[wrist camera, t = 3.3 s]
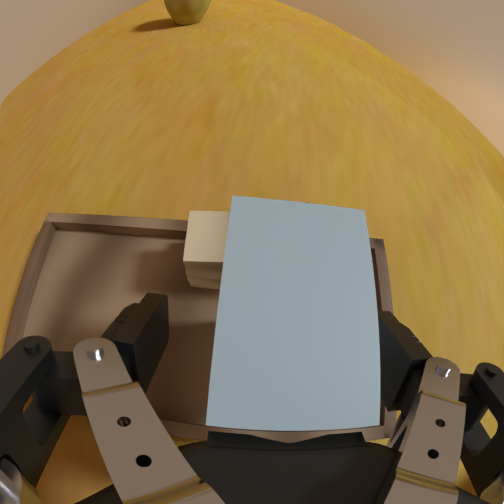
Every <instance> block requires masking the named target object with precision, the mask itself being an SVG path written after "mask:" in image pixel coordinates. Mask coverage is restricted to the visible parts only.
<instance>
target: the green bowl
mask: <svg viewBox="0 0 504 504" xmlns="http://www.w3.org/2000/svg"><path fill="white" fill-rule="evenodd" d="M210 1H211V0H164V3H165V6H166V8H167V10H168V12H169V14H170V16H171V17H172V19H173V20H174V21H175V22H176V23H177V24H178V25H191V24H196V23H198V22H200V21H201V19H202V18H203V16H204V15H205V13H206V11H207V9H208V7H209V4H210Z"/></svg>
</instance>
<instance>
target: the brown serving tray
mask: <svg viewBox="0 0 504 504" xmlns="http://www.w3.org/2000/svg"><path fill="white" fill-rule="evenodd" d="M187 226H188V221H186V220H172V219H158V218H142V217H126V216H109V215H90V214H68V213H48V214H47V216H46V219H45V221H44V223H43V225H42V228H41V230H40V232H39V235H38V237H37V240H36V242H35V245H34V247H33V250H32V252H31V255H30V258H29V261H28V263H27V266H26V269H25V272H24V275H23V278H22V281H21V284H20V287H19V291H18V294H17V297H16V301H15V304H14V308H13V312H12V316H11V320H10V324H9V328H8V332H7V337H6V342H5V347H4V352H3V356H4V355H5V354H6V353H7V352H8V351H9V350H10V349H11V348H12V347H13V346H14V345H15V344H16V343H17V342H18V341H19V340H21V339H23V338H25V337H28V336H35V335H37V336H43V337H46V338H47V339H48V340H49V341H50V343H51V346H52V349H53V351H69V352H73V350H74V348H75V346H76V345H77V344H78V343H79V342H81V341H83V340H86V339H89V338H100V337H101V335H102V334H103V333H104V332H105V330H106V329H107V328H108V327H109V326H110V324H111V323H112V322H114V319H115V318H116V317H117V316H119V314H120V312H121V311H122V310H123V309H124V308H125V307H127V306H129V305H131V304H132V303H140V301H141V300H142V299H143V298H144V296H145V295H146V294H147V293H148V292H150V293H158V294H166V295H167V297H168V311H169V339H168V344H167V346H166V348H165V351H164V353H163V355H162V357H161V360H160V362H159V364H158V366H157V369H156V371H155V373H154V375H153V378H152V380H151V382H150V385H149V387H148V389H147V391H146V394H145V395H146V397H147V399H148V401H149V402H150V404H151V406H152V408H153V409H154V411H155V413H156V414H157V416H158V418H159V419H160V421H161V423H162V424H163V426H164V428H165V429H166V431H167V432H168V434H169V435H171V436H177V437H183V438H189V439H196V440H204V441H207V438H208V431H215V432H225V433H237V434H249V435H253V436H257V437H262V438H266V439H271V440H275V441H280V442H285V443H294V442H298V441H303V440H307V439H311V438H315V437H319V436H323V435H327V434H340V433H352V432H362V434H363V436H364V439H365V441H370V440H377V439H384V438H390V437H391V434H392V432H393V430H394V427H395V425H396V412H397V411H390V412H388V411H387V409H386V407H385V405H384V403H383V401H382V398H381V396H380V424H379V425H377V426H369V427H359V428H348V429H334V430H311V431H275V430H251V429H237V428H226V427H216V426H208V425H206V416H207V405H208V395H209V384H210V374H211V365H212V355H213V346H214V337H215V328H216V319H217V310H218V302H219V294H220V289H209V288H200V287H190V284H189V281H188V278H187V275H186V269H185V266H184V263H183V257H184V248H185V241H186V233H187ZM369 241H370V248H371V255H372V263H373V271H374V280H375V289H376V300H377V311H390V312H391V313H392V314H393V307H392V297H391V289H390V281H389V273H388V266H387V259H386V253H385V247H384V241H383V239H375V238H369Z"/></svg>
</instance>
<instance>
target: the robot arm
mask: <svg viewBox="0 0 504 504" xmlns="http://www.w3.org/2000/svg"><path fill="white" fill-rule="evenodd" d="M377 312H378V326H379V344H380V396H381V398H382V401H383V403H384V405H385V407H386V409H387V411H388V412H390V411H397V410H401V414H400V416H399V418H398V420H397V422H396V425H395V427H394V430H393V432H392V434H391V437H390V439H389V441H388V444H387V446H384V445H380V444H377V443H371V442H365V439H364V436H363V434H362V432H352V433H340V434H327V435H323V436H319V437H315V438H311V439H307V440H303V441H298V442H294V443H285V442H280V441H275V440H271V439H266V438H262V437H257V436H253V435H249V434H237V433H225V432H215V431H208V438H207V441H204V442H196V443H190V444H186V445H182V446H180V447H177V446H176V445H175V443H174V442H173V440H172V439H171V437H170V436H169V434H168V432H167V431H166V429H165V428H164V426H163V424H162V423H161V421H160V419H159V418H158V416H157V414H156V413H155V411H154V409H153V408H152V406H151V404H150V402H149V401H148V399H147V397H146V395H145V394H146V391H147V389H148V387H149V385H150V382H151V380H152V378H153V375H154V373H155V371H156V369H157V366H158V364H159V362H160V360H161V357H162V355H163V353H164V351H165V348H166V346H167V344H168V339H169V311H168V297H167V295H166V294H158V293H150V292H148V293H147V294H146V295H145V296H144V298H143V299H142V300H141V301H140V303H132V304H131V305H129V306H127V307H125V308H124V309H123V310H122V311H121V312H120V314H119V316H117V317H116V318H115V319H114V322H112V323H111V324H110V326H109V327H108V328H107V329H106V330H105V332H104V333H103V334H102V335H101V337H100V338H89V339H86V340H83V341H81V342H79V343H78V344H77V345H76V346H75V348H74V350H73V352H69V351H53V349H52V346H51V343H50V341H49V340H48V339H47V338H46V337H43V336H37V335H35V336H28V337H25V338H23V339H21V340H19V341H18V342H17V343H16V344H15V345H14V346H13V347H12V348H11V349H10V350H9V351H8V352H7V353H6V354H5V355H4V356H3V357H2V358H1V360H0V504H41V502H40V497H39V495H38V493H37V491H36V489H35V488H36V485H37V483H38V481H39V479H40V476H41V474H42V472H43V470H44V468H45V466H46V463H47V461H48V459H49V457H50V455H51V453H52V451H53V449H54V447H55V445H56V443H57V441H58V439H59V437H60V435H61V433H62V431H63V429H64V427H65V425H66V423H67V421H68V419H69V418H70V416H71V414H72V415H88V418H89V421H90V424H91V427H92V430H93V433H94V436H95V439H96V442H97V445H98V447H99V450H100V453H101V455H102V458H103V460H104V463H105V465H106V468H107V470H108V472H109V475H110V477H111V479H112V481H113V484H112V485H110V486H108V487H106V488H105V489H103V490H101V491H99V492H97V493H95V494H93V495H91V496H89V497H87V498H85V499H83V500H81V501H79V502H77V503H75V504H504V372H503V371H502V370H501V369H500V368H499V367H497V366H495V365H493V364H490V363H480V364H478V365H477V367H476V369H475V371H474V373H473V374H462V373H460V370H459V368H458V367H457V365H455V364H454V363H453V362H451V361H450V360H448V359H445V358H441V357H432V355H431V354H430V353H429V352H428V351H427V349H426V348H425V347H424V346H423V345H422V343H421V342H419V340H418V339H417V337H415V335H414V334H413V333H412V332H411V330H410V329H409V328H407V327H406V326H404V325H403V324H401V323H400V322H399V321H398V320H397V319H396V318H395V316H394V315H393V314H392V313H391V312H390V311H377ZM31 395H32V397H33V400H32V402H31V403H30V405H29V406H28V408H27V409H26V411H25V412H24V414H23V407H24V405H25V403H26V402H27V400H28V399H29V397H30V396H31ZM488 408H489V410H490V411H491V413H492V414H493V415H494V417H495V418H496V420H497V422H498V429H497V432H496V434H495V435H494V436H493V438H492V439H490V437H489V435H488V434H487V432H486V431H485V429H484V427H483V426H482V424H481V423H480V420H481V419H482V417H483V416H484V414H485V413H486V411H487V410H488ZM460 458H461V461H462V463H463V465H464V467H465V469H466V471H467V473H468V475H469V478H470V480H471V482H472V484H473V486H474V489H475V491H476V493H477V496H478V497H476V496H474V495H472V494H470V493H468V492H466V491H465V490H463V489H461V488H459V487H457V486H455V481H456V476H457V471H458V466H459V461H460Z"/></svg>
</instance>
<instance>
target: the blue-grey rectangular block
mask: <svg viewBox="0 0 504 504" xmlns="http://www.w3.org/2000/svg"><path fill="white" fill-rule="evenodd" d="M379 424H380V344H379V326H378V312H377V300H376V289H375V280H374V271H373V263H372V255H371V248H370V241H369V235H368V229H367V222H366V217H365V211H364V210H359V209H352V208H344V207H337V206H329V205H321V204H312V203H303V202H294V201H285V200H275V199H265V198H254V197H242V196H232V203H231V210H230V217H229V224H228V231H227V239H226V246H225V254H224V262H223V269H222V277H221V285H220V294H219V302H218V310H217V319H216V328H215V337H214V346H213V355H212V365H211V374H210V384H209V395H208V405H207V416H206V425H208V426H216V427H226V428H237V429H251V430H275V431H311V430H334V429H348V428H359V427H369V426H377V425H379Z"/></svg>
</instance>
